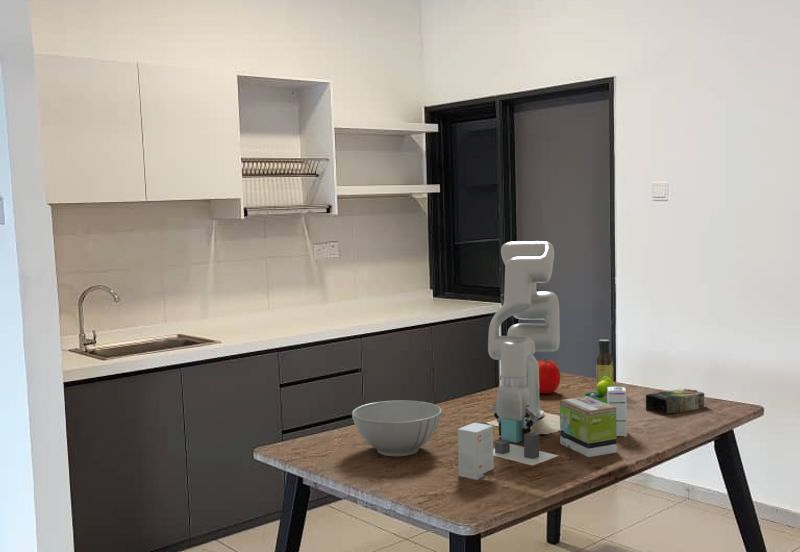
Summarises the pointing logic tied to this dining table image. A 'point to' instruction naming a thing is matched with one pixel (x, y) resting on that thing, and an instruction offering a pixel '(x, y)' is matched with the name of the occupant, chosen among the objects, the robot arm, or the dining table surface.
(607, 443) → the tea box
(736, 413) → the dining table surface
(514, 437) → the teal rectangular block
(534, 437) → the post
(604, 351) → the sauce bottle
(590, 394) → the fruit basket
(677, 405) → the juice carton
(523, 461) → the board
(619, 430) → the syrup box
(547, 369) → the tomato
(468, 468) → the small box
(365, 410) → the decorative bowl
